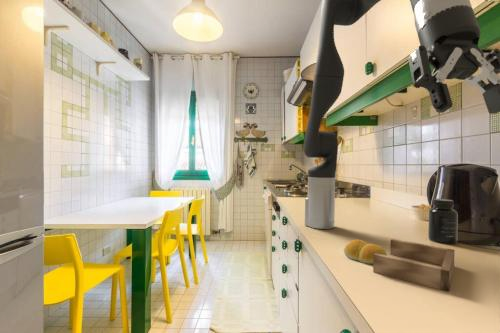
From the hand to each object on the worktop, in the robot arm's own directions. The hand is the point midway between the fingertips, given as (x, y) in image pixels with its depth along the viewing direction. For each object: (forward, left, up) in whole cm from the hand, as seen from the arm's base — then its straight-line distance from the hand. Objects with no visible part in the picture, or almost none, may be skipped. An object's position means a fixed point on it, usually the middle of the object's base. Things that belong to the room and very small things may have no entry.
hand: (471, 110), depth 38 cm
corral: (-9, +14, -30) cm, 34 cm away
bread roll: (-19, +14, -30) cm, 38 cm away
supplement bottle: (-6, +44, -30) cm, 54 cm away
